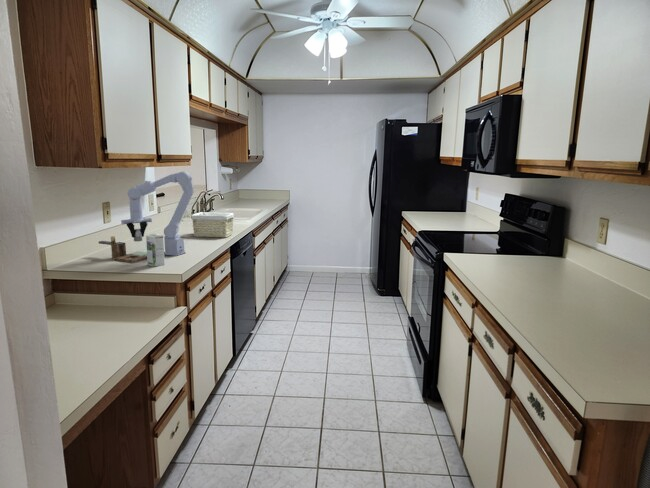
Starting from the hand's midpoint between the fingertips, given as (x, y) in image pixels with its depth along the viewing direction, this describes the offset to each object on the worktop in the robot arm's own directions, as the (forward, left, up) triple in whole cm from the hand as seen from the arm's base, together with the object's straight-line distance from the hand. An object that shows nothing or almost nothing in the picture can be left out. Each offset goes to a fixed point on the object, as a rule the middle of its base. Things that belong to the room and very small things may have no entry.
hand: (137, 236), depth 217 cm
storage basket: (-2, -63, -10) cm, 64 cm away
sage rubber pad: (0, 0, -9) cm, 9 cm away
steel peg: (0, 0, -2) cm, 2 cm away
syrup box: (-23, +13, -10) cm, 28 cm away
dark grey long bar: (+8, +10, -3) cm, 13 cm away
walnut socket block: (-3, +10, -9) cm, 14 cm away
